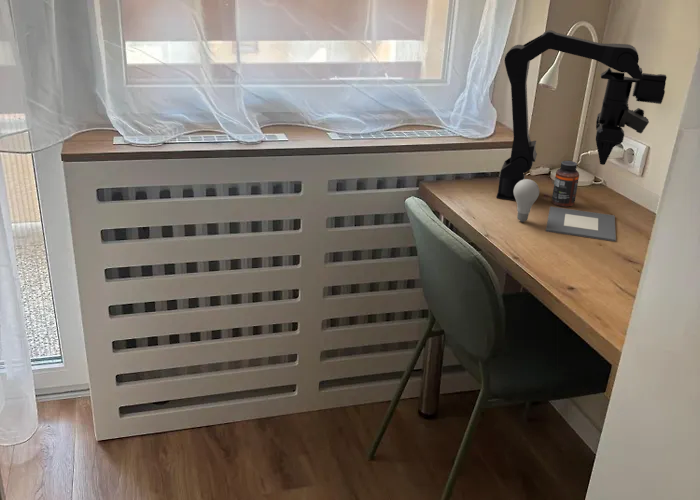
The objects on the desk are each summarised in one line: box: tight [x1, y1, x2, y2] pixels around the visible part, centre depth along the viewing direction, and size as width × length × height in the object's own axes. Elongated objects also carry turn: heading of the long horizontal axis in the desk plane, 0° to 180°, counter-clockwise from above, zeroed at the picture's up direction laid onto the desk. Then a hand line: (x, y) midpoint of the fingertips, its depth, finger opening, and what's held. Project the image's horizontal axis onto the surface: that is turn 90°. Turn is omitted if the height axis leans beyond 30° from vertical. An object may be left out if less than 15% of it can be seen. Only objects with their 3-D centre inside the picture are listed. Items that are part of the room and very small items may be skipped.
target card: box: [545, 206, 617, 243], centre depth 171 cm, size 16×16×1 cm
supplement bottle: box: [551, 160, 580, 208], centre depth 181 cm, size 6×6×11 cm
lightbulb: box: [513, 178, 540, 223], centre depth 169 cm, size 6×6×11 cm
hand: (602, 159), depth 176 cm, fingers open, 9 cm apart
